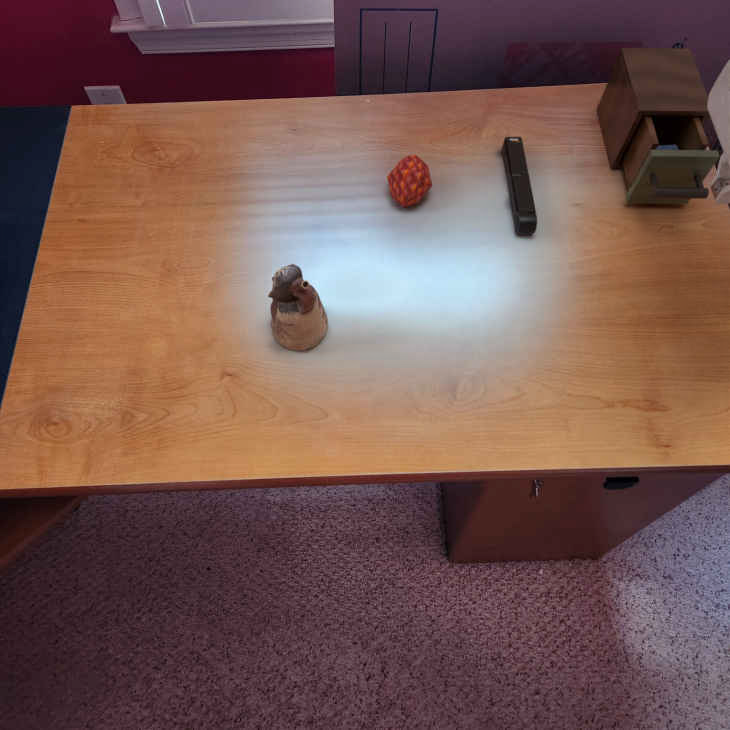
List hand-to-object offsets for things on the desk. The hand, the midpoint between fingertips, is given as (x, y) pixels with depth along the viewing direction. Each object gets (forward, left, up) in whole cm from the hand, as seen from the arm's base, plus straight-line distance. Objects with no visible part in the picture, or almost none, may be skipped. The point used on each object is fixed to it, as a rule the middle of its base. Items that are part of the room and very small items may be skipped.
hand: (718, 195), depth 68 cm
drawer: (+4, -14, -13) cm, 19 cm away
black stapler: (+23, -7, -14) cm, 27 cm away
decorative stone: (+38, -1, -14) cm, 40 cm away
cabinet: (+7, -24, -13) cm, 28 cm away
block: (+4, -14, -11) cm, 19 cm away
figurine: (+44, +26, -14) cm, 53 cm away
